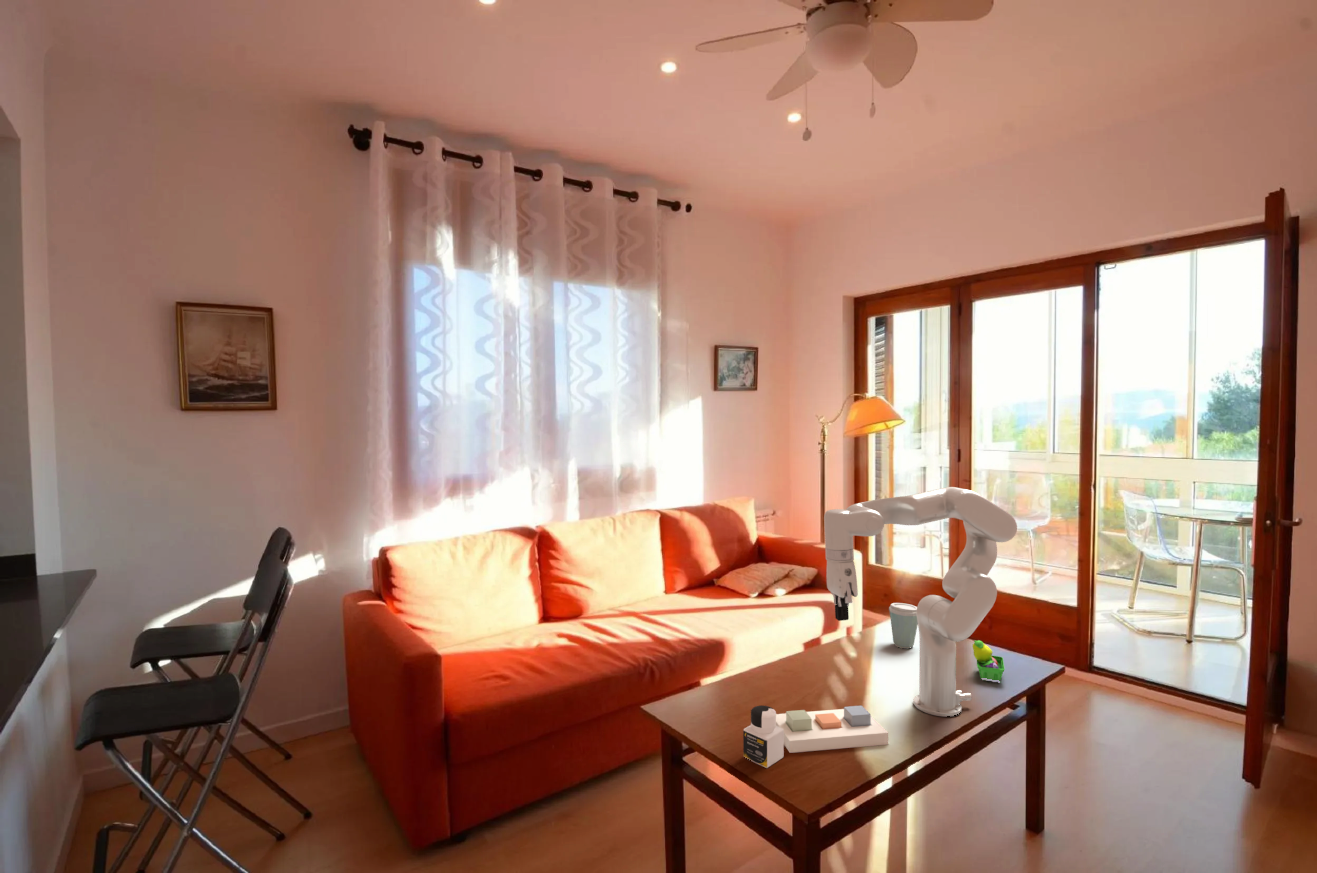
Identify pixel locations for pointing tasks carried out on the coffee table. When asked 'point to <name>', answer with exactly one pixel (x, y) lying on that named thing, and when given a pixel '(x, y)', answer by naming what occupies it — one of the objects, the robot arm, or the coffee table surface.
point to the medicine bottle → (763, 737)
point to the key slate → (857, 716)
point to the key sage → (798, 720)
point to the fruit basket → (988, 662)
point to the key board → (831, 734)
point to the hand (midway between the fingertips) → (842, 619)
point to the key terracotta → (827, 721)
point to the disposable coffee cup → (903, 624)
